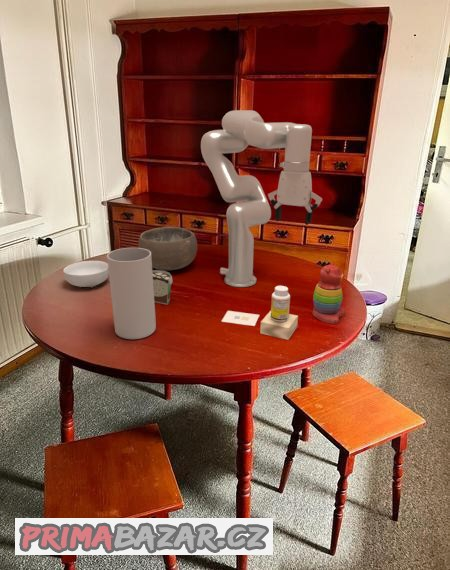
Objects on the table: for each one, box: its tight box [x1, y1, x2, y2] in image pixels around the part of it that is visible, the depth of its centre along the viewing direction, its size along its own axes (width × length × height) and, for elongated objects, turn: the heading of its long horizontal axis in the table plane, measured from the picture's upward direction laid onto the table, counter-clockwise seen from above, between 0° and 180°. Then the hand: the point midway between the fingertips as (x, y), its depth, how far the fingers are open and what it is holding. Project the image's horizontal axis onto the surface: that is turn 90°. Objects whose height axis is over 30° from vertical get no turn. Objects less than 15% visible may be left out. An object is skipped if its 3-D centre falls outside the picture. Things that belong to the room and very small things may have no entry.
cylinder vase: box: [106, 247, 157, 340], centre depth 129 cm, size 12×12×25 cm
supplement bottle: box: [270, 285, 291, 322], centre depth 131 cm, size 6×6×10 cm
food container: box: [152, 269, 173, 305], centre depth 154 cm, size 12×6×10 cm, turn 65°
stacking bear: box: [311, 262, 346, 325], centre depth 141 cm, size 11×10×18 cm
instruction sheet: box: [221, 310, 260, 327], centre depth 142 cm, size 11×8×1 cm
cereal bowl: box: [62, 260, 109, 288], centre depth 167 cm, size 17×17×7 cm
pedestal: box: [259, 310, 299, 341], centre depth 134 cm, size 9×9×4 cm
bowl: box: [138, 226, 198, 272], centre depth 183 cm, size 24×24×15 cm
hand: (292, 222), depth 138 cm, fingers open, 9 cm apart
